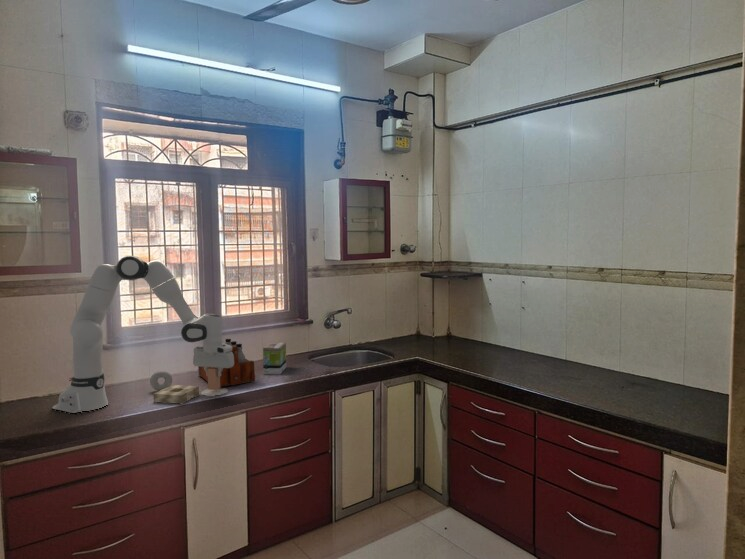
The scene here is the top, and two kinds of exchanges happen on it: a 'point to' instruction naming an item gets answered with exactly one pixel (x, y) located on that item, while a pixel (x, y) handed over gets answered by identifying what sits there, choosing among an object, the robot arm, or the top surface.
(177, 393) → the holder
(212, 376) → the peg
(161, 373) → the donut
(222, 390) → the coaster
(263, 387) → the top surface
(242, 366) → the milk bottle holder
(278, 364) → the tea box
